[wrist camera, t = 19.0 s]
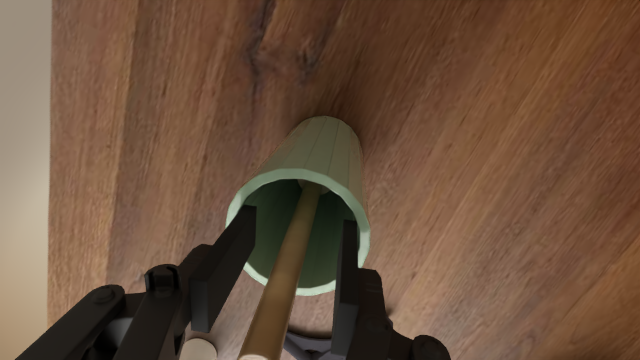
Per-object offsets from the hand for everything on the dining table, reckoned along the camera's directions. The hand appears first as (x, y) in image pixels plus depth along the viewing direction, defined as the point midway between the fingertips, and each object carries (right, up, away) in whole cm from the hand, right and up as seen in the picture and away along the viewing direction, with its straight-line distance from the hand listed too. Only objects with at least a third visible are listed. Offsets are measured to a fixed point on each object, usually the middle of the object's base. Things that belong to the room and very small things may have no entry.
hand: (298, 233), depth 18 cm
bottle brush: (+2, +6, +14) cm, 15 cm away
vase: (+2, +6, +15) cm, 16 cm away
